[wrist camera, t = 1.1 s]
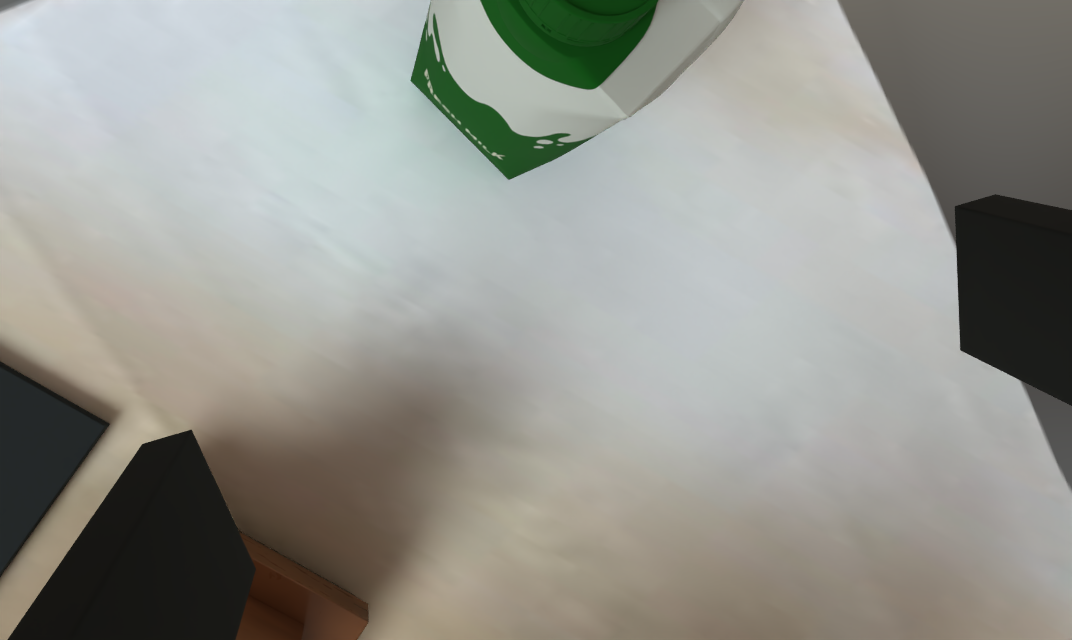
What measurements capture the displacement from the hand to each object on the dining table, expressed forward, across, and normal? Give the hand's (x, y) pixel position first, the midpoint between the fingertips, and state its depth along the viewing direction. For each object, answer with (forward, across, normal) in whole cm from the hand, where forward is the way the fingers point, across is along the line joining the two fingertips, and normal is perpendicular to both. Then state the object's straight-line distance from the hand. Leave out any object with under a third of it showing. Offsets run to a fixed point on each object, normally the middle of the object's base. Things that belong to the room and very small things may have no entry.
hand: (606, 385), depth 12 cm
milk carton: (+29, -3, -4) cm, 29 cm away
